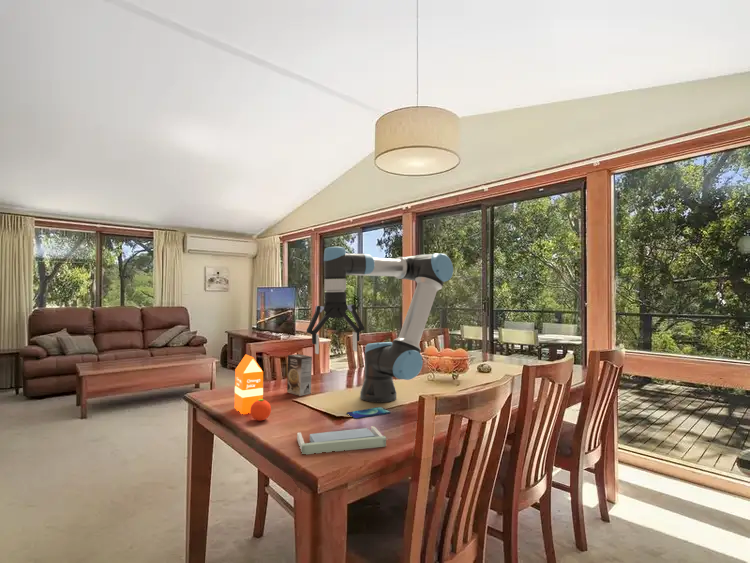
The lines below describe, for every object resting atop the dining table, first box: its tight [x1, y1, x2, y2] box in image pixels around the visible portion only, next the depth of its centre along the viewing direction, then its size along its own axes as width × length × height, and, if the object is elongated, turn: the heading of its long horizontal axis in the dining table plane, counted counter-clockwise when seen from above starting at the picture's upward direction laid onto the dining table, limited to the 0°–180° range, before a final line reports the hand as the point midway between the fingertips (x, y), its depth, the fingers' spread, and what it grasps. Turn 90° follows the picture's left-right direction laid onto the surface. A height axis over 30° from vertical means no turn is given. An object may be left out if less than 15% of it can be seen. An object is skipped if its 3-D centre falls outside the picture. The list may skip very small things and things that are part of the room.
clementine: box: [249, 398, 272, 422], centre depth 142 cm, size 8×7×7 cm
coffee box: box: [286, 353, 313, 397], centre depth 180 cm, size 9×6×16 cm
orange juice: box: [234, 354, 264, 415], centre depth 154 cm, size 8×9×20 cm
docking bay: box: [296, 425, 387, 455], centre depth 122 cm, size 24×12×2 cm, turn 107°
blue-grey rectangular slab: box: [309, 427, 375, 443], centre depth 123 cm, size 18×7×2 cm, turn 110°
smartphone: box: [346, 406, 391, 420], centre depth 151 cm, size 8×1×15 cm
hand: (336, 352), depth 145 cm, fingers open, 13 cm apart
